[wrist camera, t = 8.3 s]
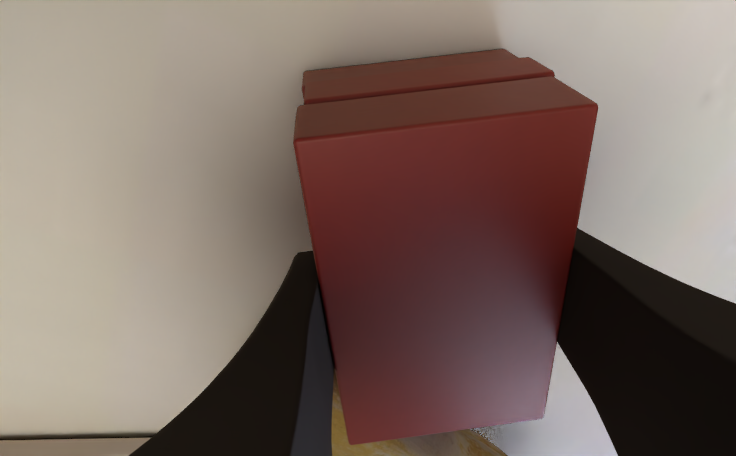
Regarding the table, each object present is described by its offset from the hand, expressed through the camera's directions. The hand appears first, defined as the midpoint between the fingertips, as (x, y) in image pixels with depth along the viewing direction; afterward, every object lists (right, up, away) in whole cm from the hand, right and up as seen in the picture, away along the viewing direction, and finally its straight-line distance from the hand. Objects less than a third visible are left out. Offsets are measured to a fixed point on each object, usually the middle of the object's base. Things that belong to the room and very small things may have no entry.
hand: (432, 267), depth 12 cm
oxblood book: (0, 0, 0) cm, 0 cm away
